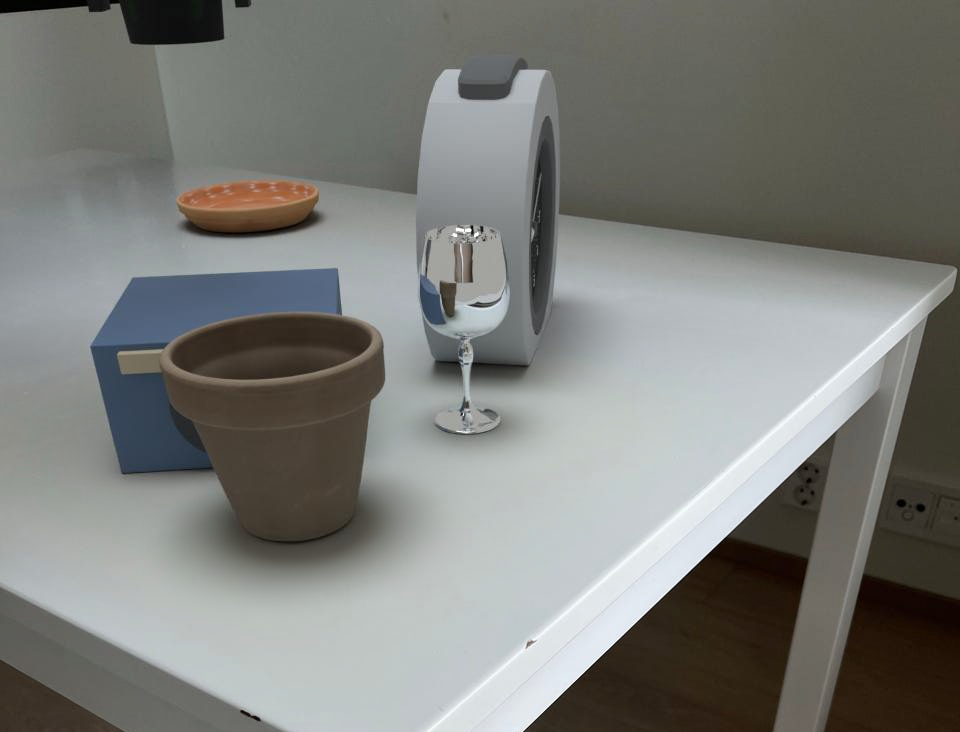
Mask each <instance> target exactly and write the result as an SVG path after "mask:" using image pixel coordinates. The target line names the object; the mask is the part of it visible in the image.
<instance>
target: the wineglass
mask: <svg viewBox="0 0 960 732" xmlns="http://www.w3.org/2000/svg"><path fill="white" fill-rule="evenodd" d="M417 292H418V293H417V295H418V303H419V307H420V310H421V315H422V314H423V316H424V318H425V320H426V322H427V323H428V324H429V325H430V326H431V328H432V329H434V330H435V331H437V332H438V333H440V334H442V335H444V336H446V337H449V338H452V339H456V340H461V345H460V346H459V353H458V356H459V362H458V363H459V364H460V367H461V368H460V369H461V372H462V385H463V387H462V389H463V391H462V392H463V393H462V395H463V397H462V402H461V405H459V406H455V407H451V408H447V409H444V410H442V411H441V412H439V413H438V414H436V416H435V418H434V424H435V426H436V427H437V428H439V429H440V430H442V431H444V432H449V433H452V434H458V435H472V434H473V435H474V434H480V433H485V432H488V431H491V430H493V429H495V428H497V427H498V426H499V425H500V423H501V416H500V414H499V413H498V412H496V411H494V410H492V409H490V408H487V407H483V406H476V405H474V403H473V401H472V396H471V372H472V364H473V363H472V362H473V355H474V354H473V348H472V346H471V344H470V340H472V339H477V338H480V337H482V336H485V335H487V334H489V333H491V332H492V331H494V330H495V329H496V328H497V327H498V326H499V325H500V324H501V323H502V321H503V320H504V318H505V316H506V314H507V311H508V308H509V302H510V276H509V268H508V262H507V257H506V253H505V248H504V244H503V240H502V236H501V232H500V231H499V230H497V229H495V228H492V227H487V226H481V225H451V226H444V227H438V228H435V229H432V230H429V231H427V232H426V233H425V236H424V241H423V247H422V252H421V258H420V265H419V275H418V274H417Z"/></svg>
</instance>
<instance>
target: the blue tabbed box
mask: <svg viewBox="0 0 960 732" xmlns="http://www.w3.org/2000/svg"><path fill="white" fill-rule="evenodd" d="M340 286H341V285H340V277H339V268H338V267H329V268H328V267H327V268H307V269H288V270H287V269H285V270H263V271H243V272H221V273H219V272H218V273H200V274H199V273H198V274H180V275H179V274H178V275H175V274H174V275H155V276H133V277H132V278H131V279H130V281H129V283H128V284H127V285H126V288H125V289H124V291H123V292H122V293H121V296H120V297H119V299H118V300H117V302H116V304H115V305H114V307H113V308H112V310H111V312H110V313H109V315H108V317H107V318H106V320H105V322H104V323H103V325H102V326H101V328H100V329H99V332H97V334H96V336H95V337H94V339H93V340H92V343H91V344H90V347H89V348H90V352H91V356H92V360H93V363H94V364H93V365H94V368H95V371H96V376H97V380H98V384H99V388H100V392H101V396H102V400H103V403H104V404H103V405H104V407H105V413H106V416H107V421H108V425H109V429H110V432H111V436H112V437H111V438H112V441H113V445H114V450H115V453H116V457H117V461H118V465H119V469H120V473H121V474H129V473H130V474H132V473H147V472H165V471H180V470H181V471H182V470H199V469H214V468H213V465H212V463H211V461H210V459H209V456H208V454H207V452H206V449H205V447H204V445H203V443H202V440H201V438H200V436H199V434H198V432H197V430H196V428H195V426H194V424H193V422H192V420H190V419H188V418H186V417H184V416H183V415H181V414H180V413H179V412H178V411H176V410H175V409H174V407H173V406H172V405H171V403H170V400H169V397H168V393H167V390H166V386H165V382H164V378H163V373H162V371H161V369H160V364H159V358H160V354H161V352H162V351H163V349H164V348H165V347H166V346H167V345H168V344H169V343H170V342H171V341H173V340H174V339H176V338H177V337H179V336H181V335H183V334H185V333H187V332H189V331H192V330H194V329H196V328H199V327H202V326H205V325H208V324H212V323H215V322H219V321H223V320H227V319H232V318H237V317H243V316H249V315H257V314H264V313H277V312H320V313H330V314H337V315H343V307H342V298H341V288H340Z"/></svg>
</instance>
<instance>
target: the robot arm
mask: <svg viewBox="0 0 960 732" xmlns="http://www.w3.org/2000/svg"><path fill="white" fill-rule="evenodd" d="M86 3H87V8H88V12H89V13H104V12H106V11H110V10H112V9H111V3H110V0H86ZM251 6H252V0H234V7H235V8H236V9H240V8H241V9H242V8H243V9H244V8H250V7H251Z"/></svg>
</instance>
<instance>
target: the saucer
mask: <svg viewBox="0 0 960 732" xmlns="http://www.w3.org/2000/svg"><path fill="white" fill-rule="evenodd" d="M319 201H320V190H319V189H318V188H317V187H316V186H314V185H312V184H310V183H306V182H301V181H293V180H282V179H281V180H280V179H279V180H277V179H261V180H260V179H259V180H258V179H257V180H256V179H255V180H242V181H232V182H231V181H229V182H224V183H216V184H210V185H206V186H202V187H201V186H200V187H198V188H193V189H192V190H188V191H185V192H183V193H181V194H180V195H179V196H178V197H177V198H176V205H177V208H178V211H179V212H180V214H182V215H184V217H185V218H186V219H187V220H189V221H190V222H192V223H193V224H194V225H195V226H196V227H198V228H200V229H201V230H205V231H209V232H215V233H231V234H232V233H254V232H265V231H272V230H279V229H282V228H288V227H291V226H294V225H297V224H299V223H301V222H303V221H305V219H307V217H308V216H309V215H310V213H311V211H313V210H314V209H315V207H316V205H317V204H318V203H319Z"/></svg>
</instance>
